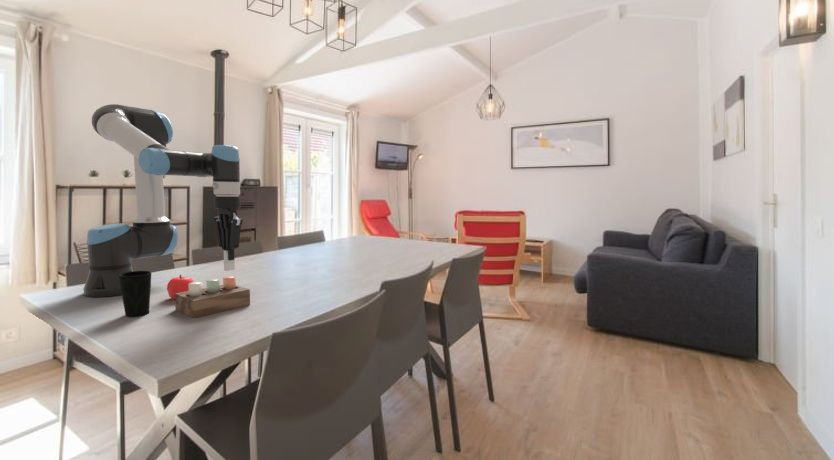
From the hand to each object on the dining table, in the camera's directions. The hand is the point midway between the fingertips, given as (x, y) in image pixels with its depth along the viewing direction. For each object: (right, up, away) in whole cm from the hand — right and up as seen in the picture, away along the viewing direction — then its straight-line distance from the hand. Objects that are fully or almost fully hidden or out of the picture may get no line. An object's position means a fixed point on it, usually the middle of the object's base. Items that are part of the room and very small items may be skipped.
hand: (229, 269), depth 124 cm
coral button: (0, -6, +1) cm, 7 cm away
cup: (-21, -12, -11) cm, 27 cm away
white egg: (-6, -7, -8) cm, 12 cm away
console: (-3, -11, -3) cm, 12 cm away
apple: (-19, -10, +6) cm, 23 cm away
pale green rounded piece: (-3, -7, -4) cm, 8 cm away
